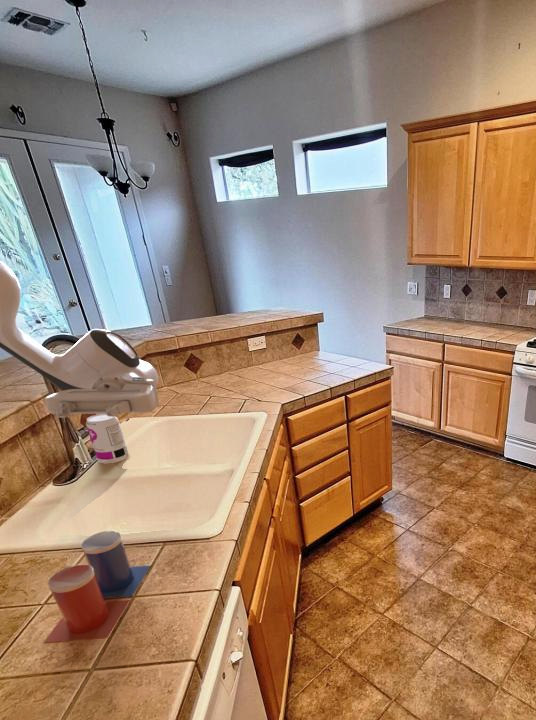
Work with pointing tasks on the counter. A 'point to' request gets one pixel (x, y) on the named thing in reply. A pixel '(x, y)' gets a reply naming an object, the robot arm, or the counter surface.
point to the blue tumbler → (108, 560)
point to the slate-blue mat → (130, 589)
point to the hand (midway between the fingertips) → (84, 413)
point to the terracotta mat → (102, 631)
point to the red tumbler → (79, 598)
